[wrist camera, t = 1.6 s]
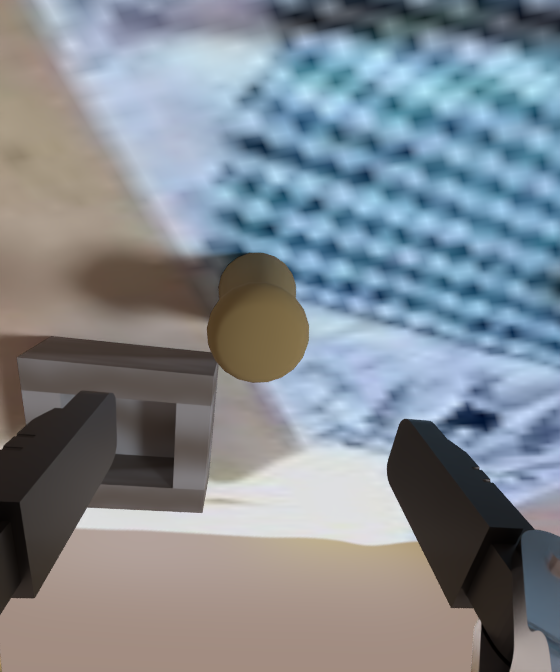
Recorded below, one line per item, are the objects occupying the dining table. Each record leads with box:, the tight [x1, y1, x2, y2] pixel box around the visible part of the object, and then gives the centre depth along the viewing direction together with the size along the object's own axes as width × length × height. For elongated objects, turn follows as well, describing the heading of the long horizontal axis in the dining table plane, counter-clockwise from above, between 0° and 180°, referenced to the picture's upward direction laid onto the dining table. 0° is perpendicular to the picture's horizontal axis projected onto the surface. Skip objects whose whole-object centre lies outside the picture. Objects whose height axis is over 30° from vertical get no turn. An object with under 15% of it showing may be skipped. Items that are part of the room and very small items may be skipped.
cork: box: [207, 253, 309, 383], centre depth 21 cm, size 6×6×11 cm
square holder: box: [17, 336, 219, 513], centre depth 27 cm, size 13×13×4 cm
